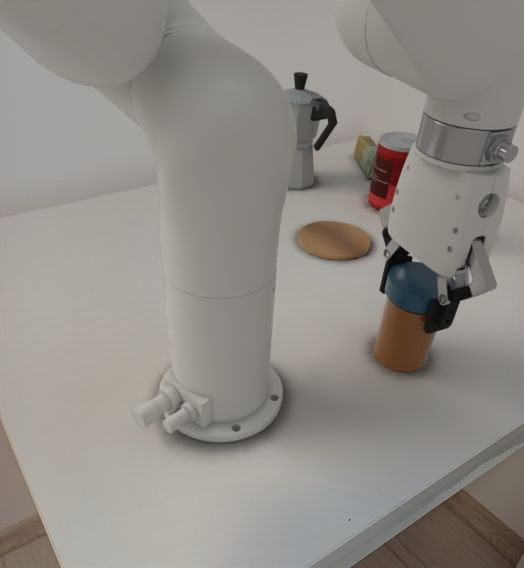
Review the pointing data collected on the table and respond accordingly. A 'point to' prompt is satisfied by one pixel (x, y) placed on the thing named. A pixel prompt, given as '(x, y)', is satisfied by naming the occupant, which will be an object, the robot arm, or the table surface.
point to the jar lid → (413, 286)
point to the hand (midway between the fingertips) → (413, 307)
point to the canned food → (389, 166)
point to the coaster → (334, 240)
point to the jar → (402, 339)
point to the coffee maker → (307, 128)
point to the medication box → (366, 154)
